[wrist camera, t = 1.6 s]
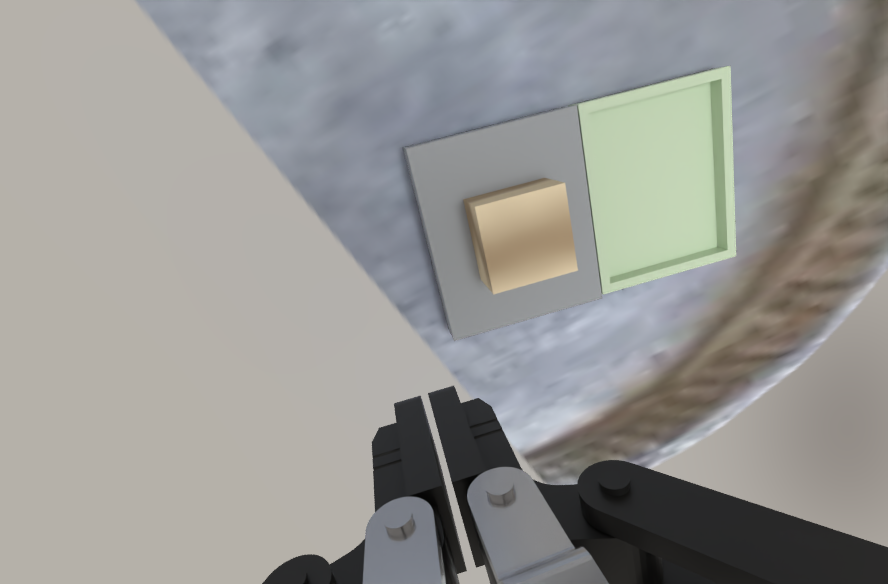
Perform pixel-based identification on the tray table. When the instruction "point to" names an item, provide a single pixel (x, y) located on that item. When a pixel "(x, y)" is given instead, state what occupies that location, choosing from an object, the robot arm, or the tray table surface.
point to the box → (660, 177)
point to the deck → (490, 169)
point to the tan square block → (522, 234)
